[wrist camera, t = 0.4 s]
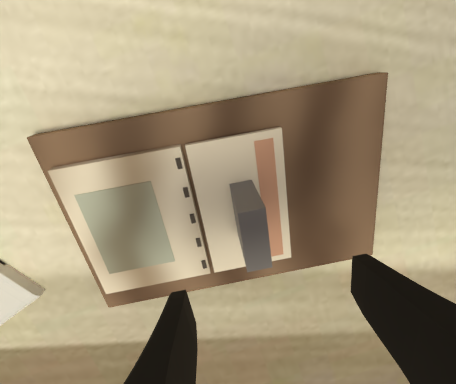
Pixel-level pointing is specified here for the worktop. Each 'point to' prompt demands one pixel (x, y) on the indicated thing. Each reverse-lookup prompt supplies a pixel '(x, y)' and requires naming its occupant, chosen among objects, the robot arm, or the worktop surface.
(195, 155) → the stub
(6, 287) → the external hard drive
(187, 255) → the ticket board
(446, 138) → the worktop surface
